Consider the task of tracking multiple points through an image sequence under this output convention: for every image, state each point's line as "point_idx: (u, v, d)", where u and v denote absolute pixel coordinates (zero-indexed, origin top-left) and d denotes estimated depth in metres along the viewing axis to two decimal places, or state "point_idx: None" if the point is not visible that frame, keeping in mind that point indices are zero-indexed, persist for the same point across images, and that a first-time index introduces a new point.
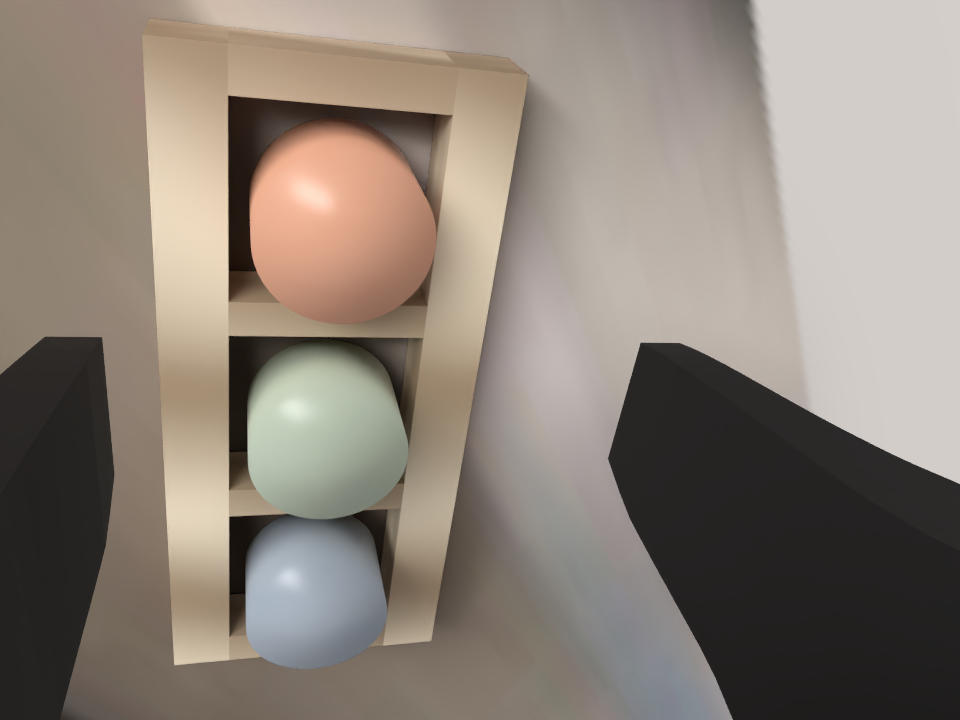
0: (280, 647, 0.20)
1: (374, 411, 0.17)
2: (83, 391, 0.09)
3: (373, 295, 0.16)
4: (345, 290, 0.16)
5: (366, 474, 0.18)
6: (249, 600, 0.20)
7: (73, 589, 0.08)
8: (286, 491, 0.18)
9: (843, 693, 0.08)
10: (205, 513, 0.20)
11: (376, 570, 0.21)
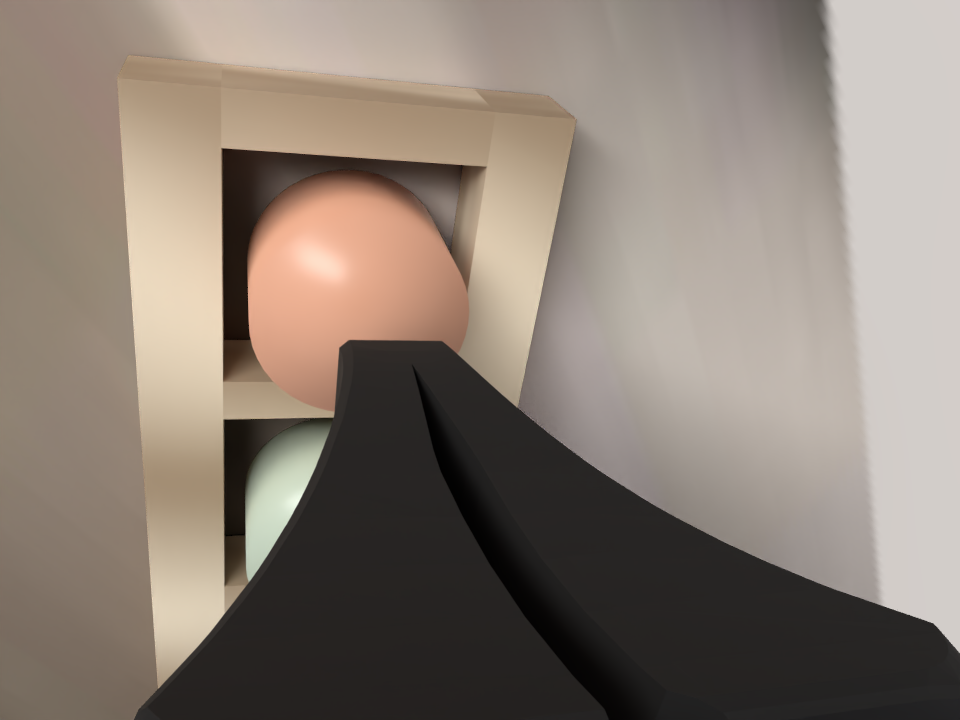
0: None
1: None
2: None
3: None
4: None
5: None
6: None
7: None
8: None
9: None
10: (197, 611, 0.17)
11: None
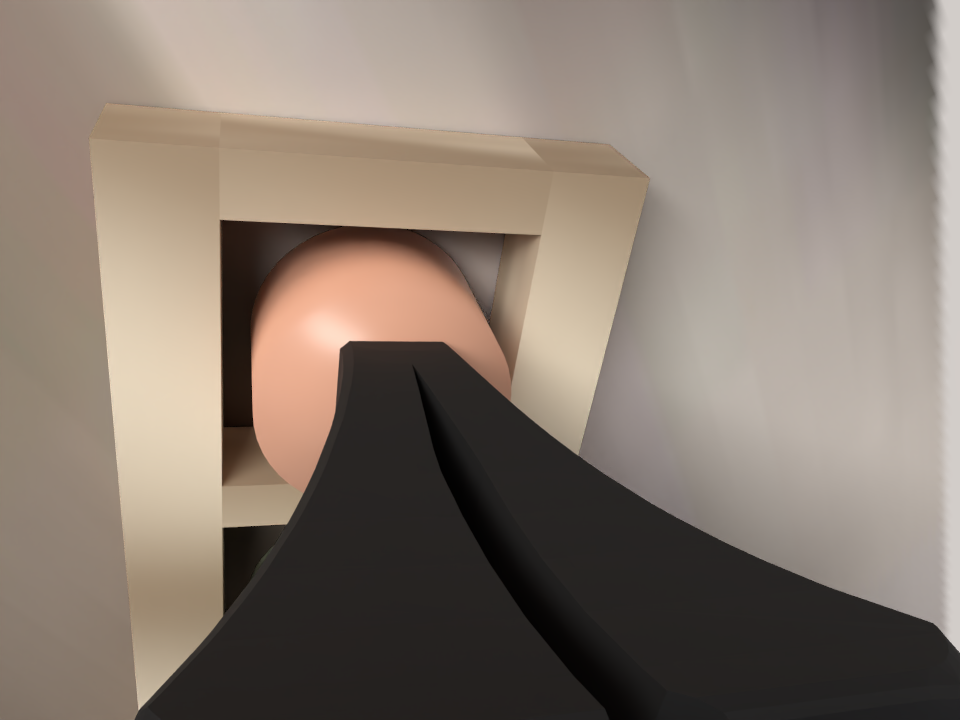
0: None
1: None
2: None
3: None
4: None
5: None
6: None
7: None
8: None
9: None
10: None
11: None
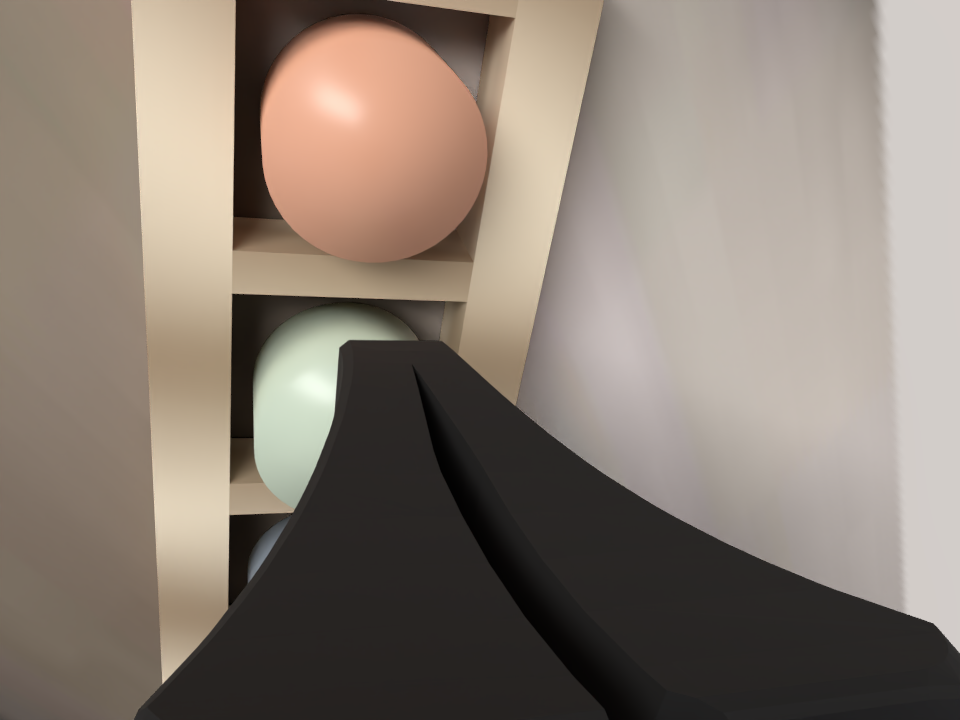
0: None
1: None
2: None
3: (409, 227, 0.13)
4: (375, 220, 0.13)
5: None
6: None
7: None
8: (300, 485, 0.15)
9: None
10: (200, 511, 0.17)
11: None
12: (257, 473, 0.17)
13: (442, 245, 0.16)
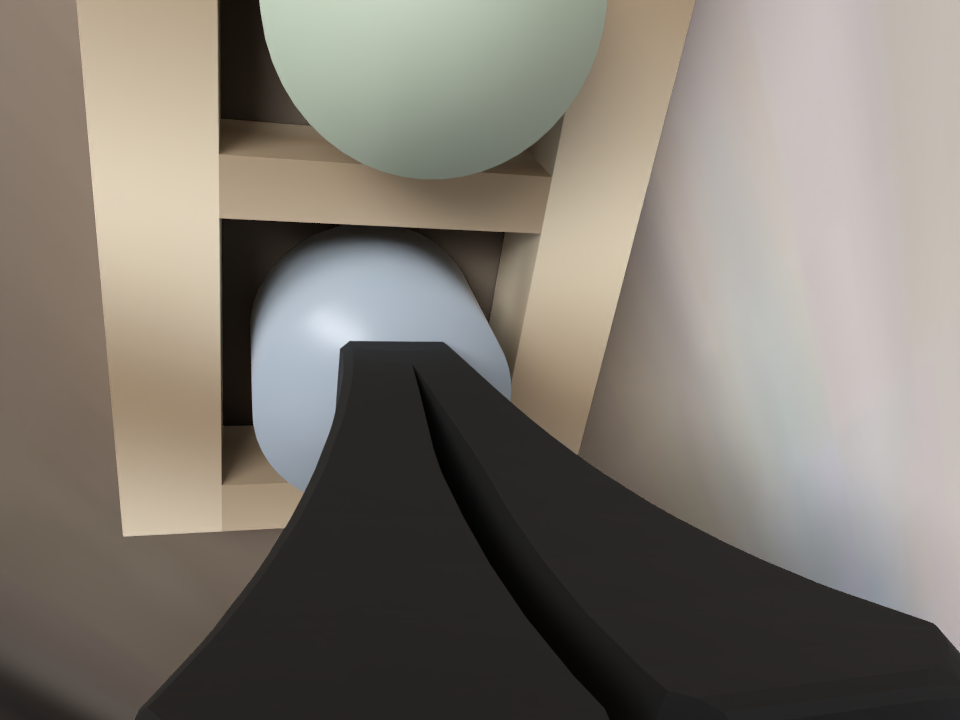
0: (315, 458, 0.11)
1: None
2: None
3: None
4: None
5: (514, 66, 0.08)
6: (259, 360, 0.11)
7: None
8: (343, 91, 0.08)
9: None
10: (172, 205, 0.10)
11: (489, 325, 0.11)
12: (265, 149, 0.10)
13: None
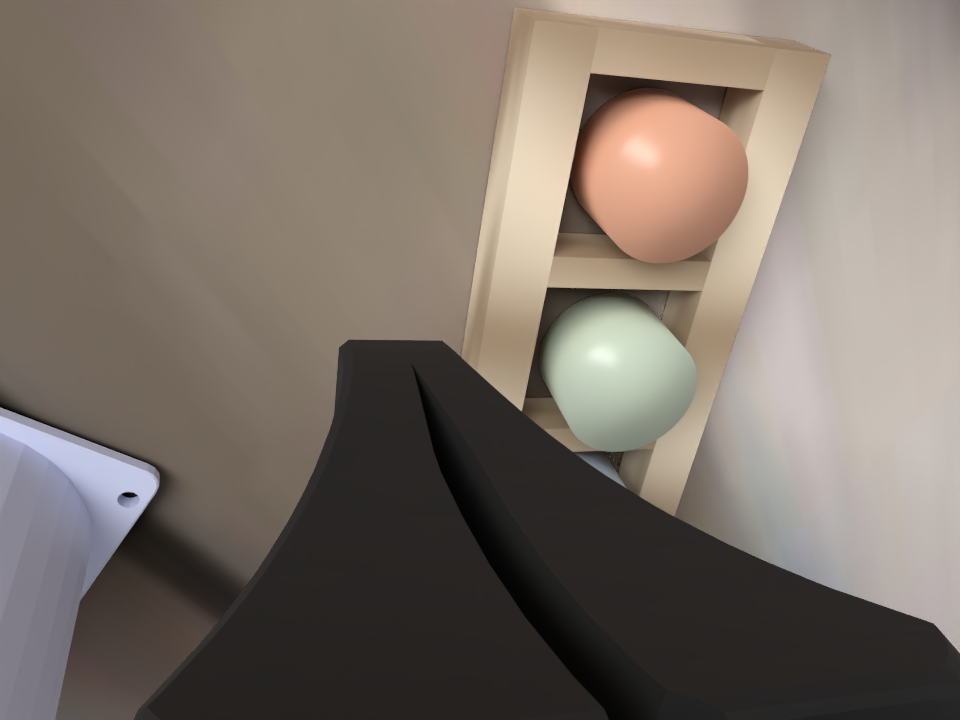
0: None
1: (676, 352, 0.20)
2: None
3: (688, 238, 0.19)
4: (667, 233, 0.19)
5: (658, 410, 0.21)
6: None
7: None
8: (591, 425, 0.20)
9: None
10: None
11: None
12: None
13: None
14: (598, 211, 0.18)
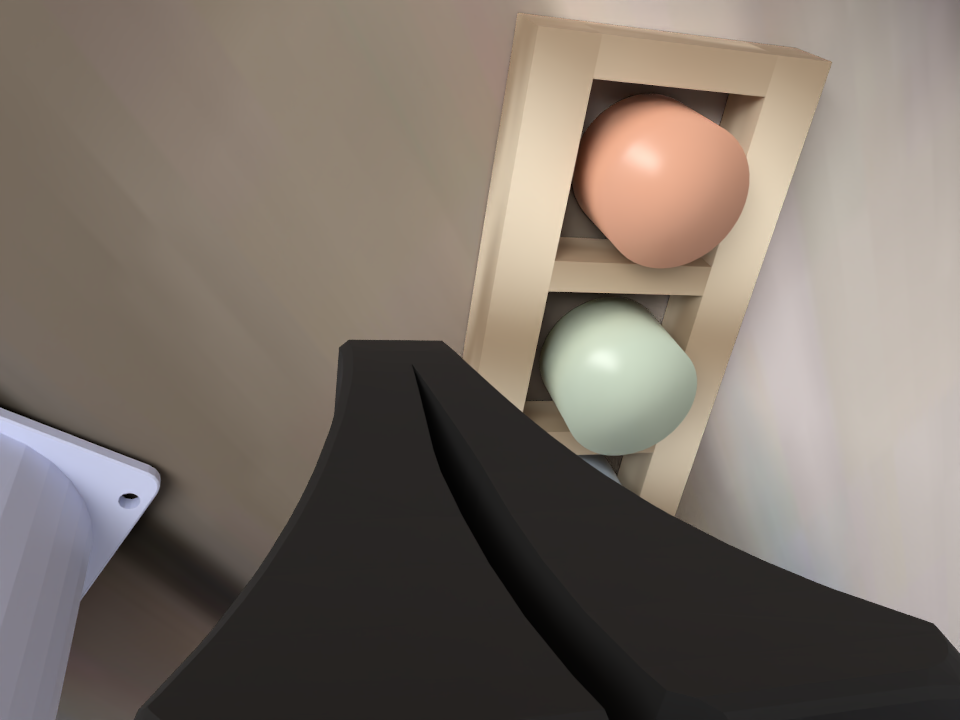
0: None
1: (676, 357, 0.20)
2: None
3: (689, 243, 0.19)
4: (668, 238, 0.19)
5: (658, 414, 0.21)
6: None
7: None
8: (591, 429, 0.21)
9: None
10: None
11: None
12: None
13: None
14: (600, 216, 0.18)
